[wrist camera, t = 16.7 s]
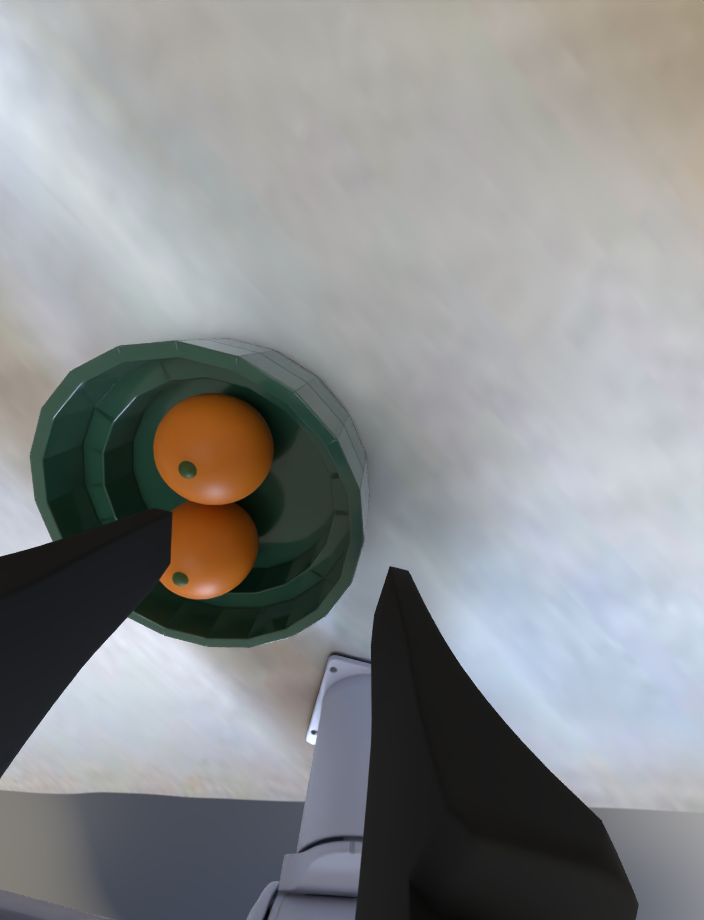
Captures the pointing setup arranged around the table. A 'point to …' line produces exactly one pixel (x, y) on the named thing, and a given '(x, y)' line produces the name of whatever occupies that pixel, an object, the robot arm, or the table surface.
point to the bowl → (141, 488)
